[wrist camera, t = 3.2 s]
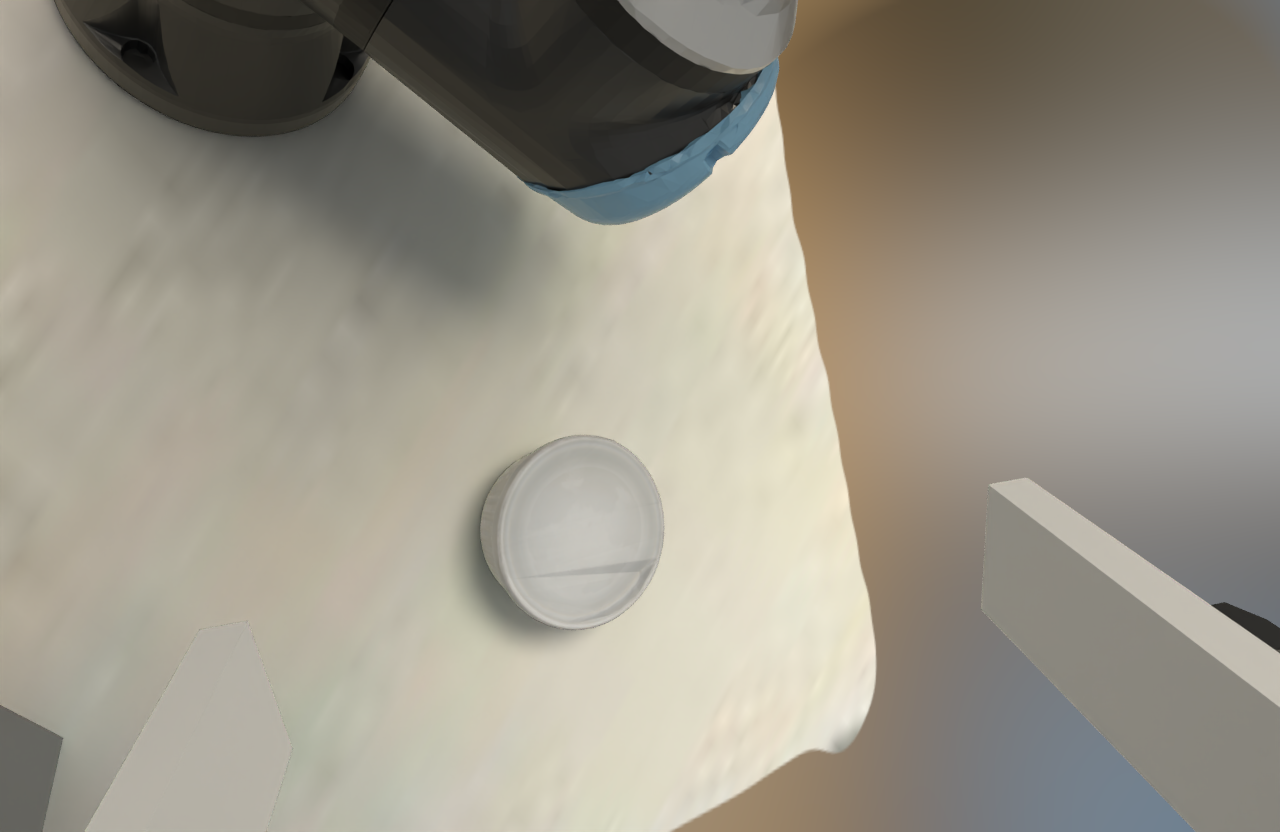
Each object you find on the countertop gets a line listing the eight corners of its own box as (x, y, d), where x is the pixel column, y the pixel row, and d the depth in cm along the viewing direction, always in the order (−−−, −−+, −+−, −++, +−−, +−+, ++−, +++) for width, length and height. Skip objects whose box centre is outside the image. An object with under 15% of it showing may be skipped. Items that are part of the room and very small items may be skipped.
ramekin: (524, 653, 50) (563, 671, 45) (427, 506, 47) (458, 511, 43) (649, 542, 55) (695, 549, 51) (568, 405, 52) (609, 400, 48)
